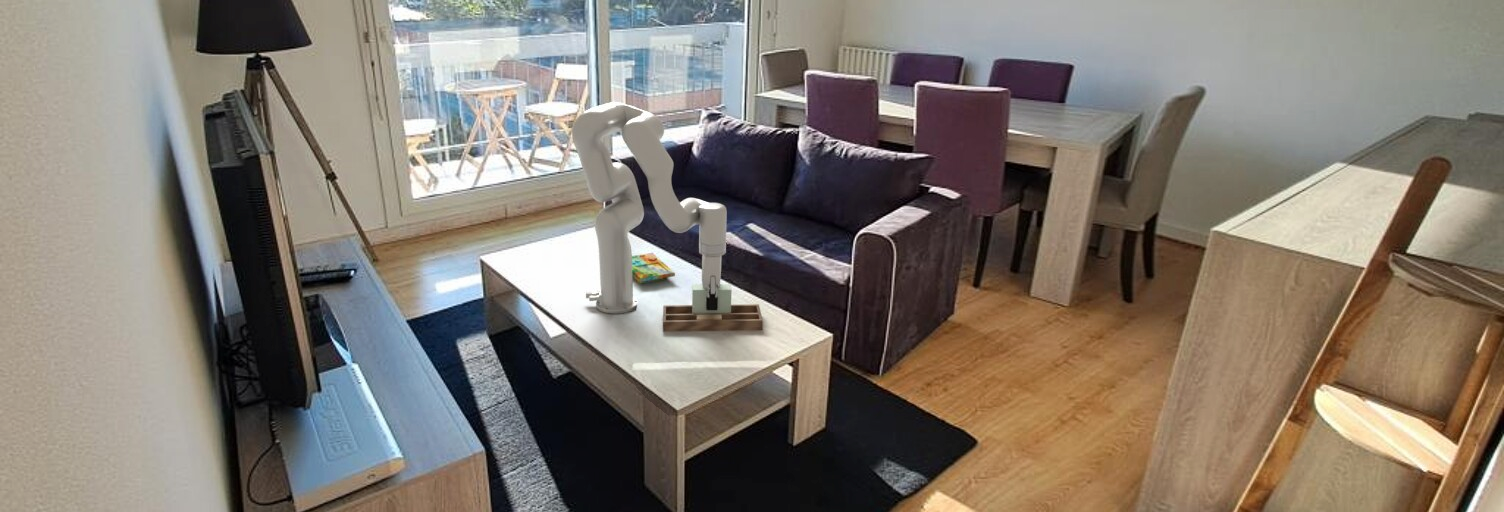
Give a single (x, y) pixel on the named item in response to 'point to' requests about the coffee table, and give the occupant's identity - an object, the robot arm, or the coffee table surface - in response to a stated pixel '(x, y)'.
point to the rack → (736, 320)
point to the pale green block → (701, 294)
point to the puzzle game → (649, 268)
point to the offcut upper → (709, 317)
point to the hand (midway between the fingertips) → (711, 305)
